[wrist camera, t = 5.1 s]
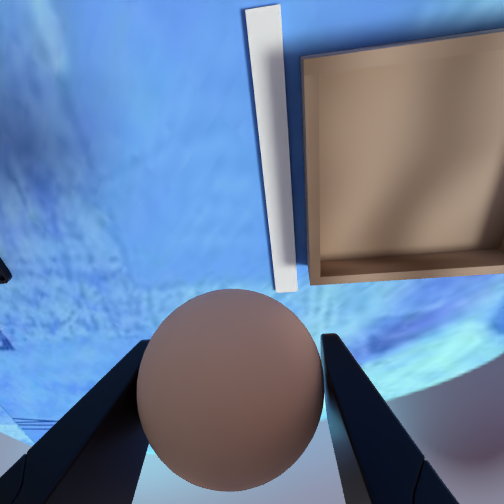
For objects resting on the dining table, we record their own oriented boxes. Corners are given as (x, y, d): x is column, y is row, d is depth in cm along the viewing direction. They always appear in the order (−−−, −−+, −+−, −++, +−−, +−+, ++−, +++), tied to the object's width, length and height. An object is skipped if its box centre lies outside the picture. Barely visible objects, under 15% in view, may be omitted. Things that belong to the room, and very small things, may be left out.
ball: (187, 362, 11) (143, 520, 8) (149, 259, 9) (58, 420, 5) (316, 359, 11) (335, 529, 7) (313, 248, 8) (341, 421, 5)
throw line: (276, 290, 23) (276, 292, 23) (245, 10, 14) (245, 9, 14) (297, 289, 23) (297, 291, 22) (280, 4, 14) (280, 4, 14)
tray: (307, 265, 21) (310, 285, 20) (300, 56, 15) (303, 59, 13) (502, 252, 20) (523, 272, 18) (589, 15, 13) (634, 13, 12)
